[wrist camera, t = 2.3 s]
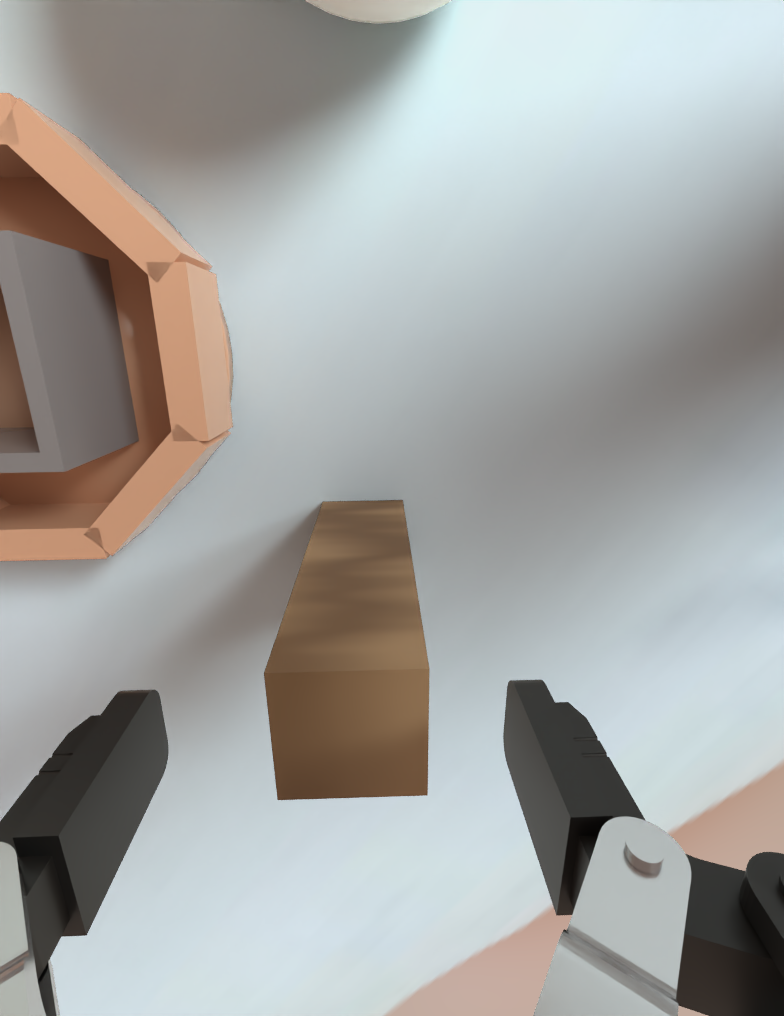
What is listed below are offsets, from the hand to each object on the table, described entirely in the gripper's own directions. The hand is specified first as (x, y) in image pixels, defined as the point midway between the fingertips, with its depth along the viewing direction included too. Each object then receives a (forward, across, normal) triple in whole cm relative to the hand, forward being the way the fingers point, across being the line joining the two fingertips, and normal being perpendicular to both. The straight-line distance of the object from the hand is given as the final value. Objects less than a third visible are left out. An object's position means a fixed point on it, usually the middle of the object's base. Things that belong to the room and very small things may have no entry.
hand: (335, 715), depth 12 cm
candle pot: (+12, +12, -8) cm, 18 cm away
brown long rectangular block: (+12, 0, 0) cm, 12 cm away
